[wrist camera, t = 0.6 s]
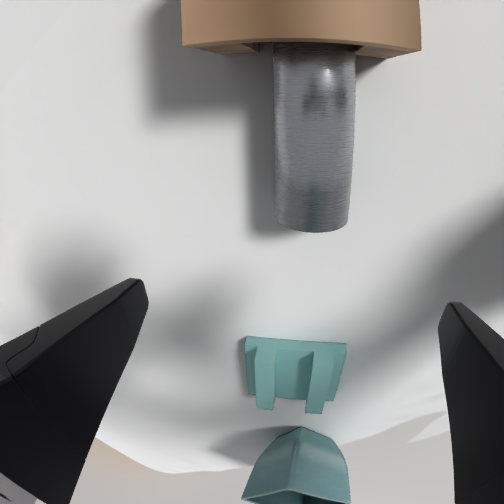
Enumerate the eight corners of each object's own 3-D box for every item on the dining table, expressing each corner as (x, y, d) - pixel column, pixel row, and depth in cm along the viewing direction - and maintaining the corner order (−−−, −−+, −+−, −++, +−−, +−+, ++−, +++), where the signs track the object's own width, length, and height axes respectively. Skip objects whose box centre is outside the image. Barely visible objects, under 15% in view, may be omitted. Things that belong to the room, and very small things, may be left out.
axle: (335, -22, 12) (362, -43, 9) (335, 201, 19) (358, 230, 16) (264, -28, 12) (274, -54, 9) (271, 204, 19) (281, 234, 16)
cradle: (345, 343, 24) (346, 367, 22) (333, 392, 28) (332, 414, 26) (247, 336, 26) (240, 358, 24) (250, 385, 29) (245, 406, 27)
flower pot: (252, 437, 35) (238, 500, 27) (297, 413, 31) (287, 489, 23) (307, 457, 36) (299, 515, 29) (354, 436, 32) (353, 503, 24)
